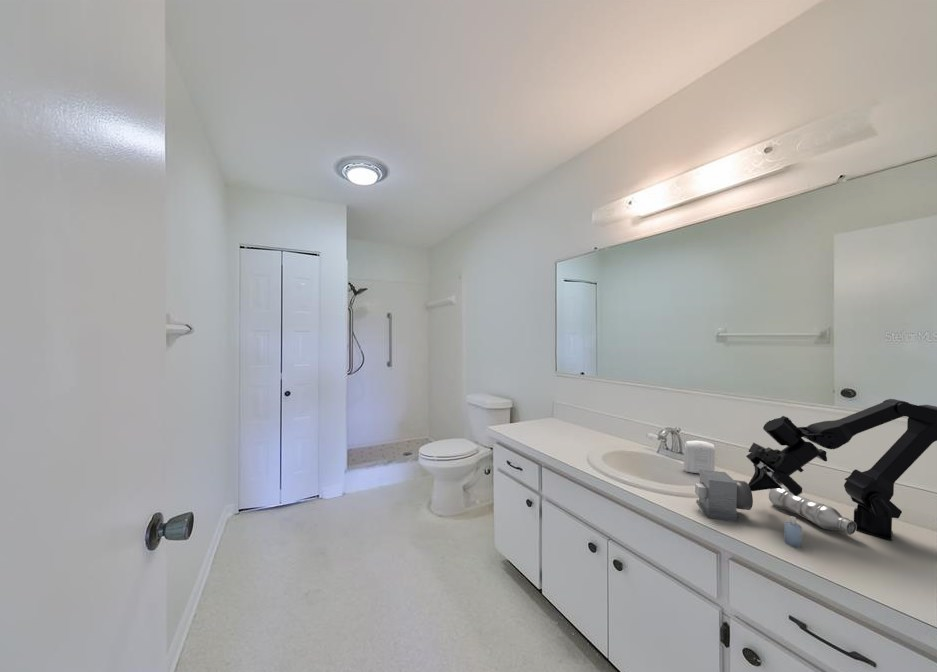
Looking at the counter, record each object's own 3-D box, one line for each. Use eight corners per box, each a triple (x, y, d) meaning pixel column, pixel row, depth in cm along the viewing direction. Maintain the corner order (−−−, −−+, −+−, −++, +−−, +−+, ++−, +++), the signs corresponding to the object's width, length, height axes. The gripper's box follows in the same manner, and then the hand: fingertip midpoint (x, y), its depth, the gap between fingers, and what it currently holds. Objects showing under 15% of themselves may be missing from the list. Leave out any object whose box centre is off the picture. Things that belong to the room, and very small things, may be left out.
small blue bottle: (802, 544, 91) (802, 517, 91) (799, 549, 89) (800, 521, 89) (785, 538, 93) (786, 512, 93) (783, 543, 91) (783, 516, 91)
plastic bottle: (785, 494, 113) (865, 528, 94) (770, 508, 112) (848, 545, 93) (775, 479, 113) (854, 510, 93) (761, 492, 112) (837, 526, 92)
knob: (740, 502, 109) (740, 476, 109) (753, 515, 101) (753, 488, 101) (692, 496, 112) (692, 471, 112) (701, 508, 105) (701, 482, 105)
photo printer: (712, 471, 137) (712, 440, 137) (716, 476, 133) (716, 444, 133) (682, 468, 140) (682, 438, 140) (685, 472, 136) (685, 441, 136)
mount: (725, 505, 111) (725, 471, 111) (739, 522, 101) (740, 484, 101) (696, 502, 113) (696, 468, 113) (708, 517, 103) (708, 481, 103)
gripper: (754, 427, 112) (713, 457, 115) (789, 446, 94) (740, 481, 97) (783, 454, 110) (741, 484, 113) (825, 478, 92) (773, 513, 95)
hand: (747, 489), depth 105 cm, fingers closed, pressing on knob
